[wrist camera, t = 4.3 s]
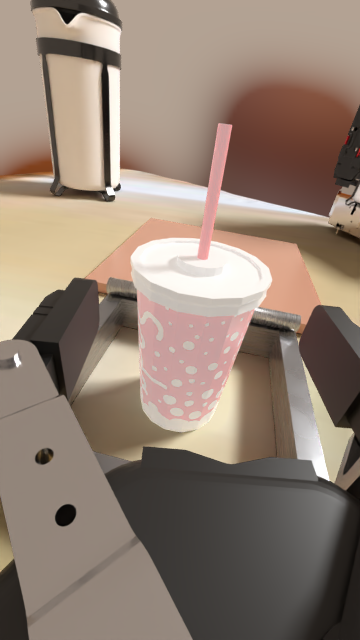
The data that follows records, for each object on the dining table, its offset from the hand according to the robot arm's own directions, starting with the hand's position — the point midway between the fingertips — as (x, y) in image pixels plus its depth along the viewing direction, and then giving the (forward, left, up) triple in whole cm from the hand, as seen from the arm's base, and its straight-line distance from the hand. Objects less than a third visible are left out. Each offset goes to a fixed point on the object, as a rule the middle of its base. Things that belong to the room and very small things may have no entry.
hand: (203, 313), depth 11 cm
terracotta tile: (+1, -24, -8) cm, 25 cm away
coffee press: (+29, -49, -8) cm, 57 cm away
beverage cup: (+1, -3, -8) cm, 9 cm away
